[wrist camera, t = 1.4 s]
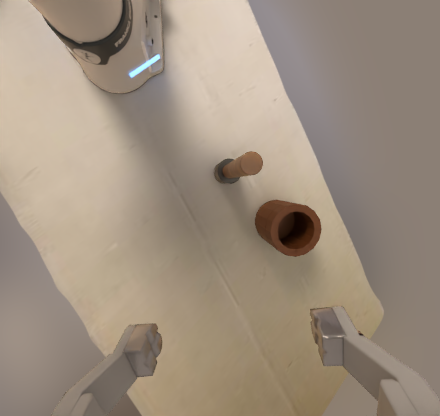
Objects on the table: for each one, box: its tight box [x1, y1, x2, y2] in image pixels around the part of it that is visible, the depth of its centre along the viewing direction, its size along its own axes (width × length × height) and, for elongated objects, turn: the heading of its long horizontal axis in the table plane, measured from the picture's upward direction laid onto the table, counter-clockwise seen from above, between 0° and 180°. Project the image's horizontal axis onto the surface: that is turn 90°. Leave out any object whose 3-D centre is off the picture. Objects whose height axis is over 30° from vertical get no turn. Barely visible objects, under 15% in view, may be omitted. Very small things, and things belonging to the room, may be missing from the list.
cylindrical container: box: [255, 200, 321, 257], centre depth 48 cm, size 10×10×11 cm
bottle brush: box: [214, 152, 263, 183], centre depth 39 cm, size 5×5×24 cm
